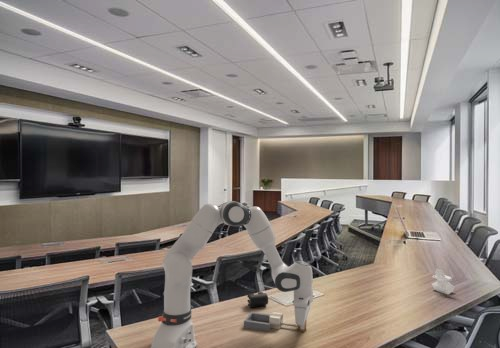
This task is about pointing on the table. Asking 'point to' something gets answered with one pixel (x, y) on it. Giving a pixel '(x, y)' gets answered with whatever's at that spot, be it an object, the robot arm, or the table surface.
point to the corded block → (281, 322)
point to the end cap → (257, 299)
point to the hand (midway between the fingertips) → (303, 326)
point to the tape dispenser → (442, 282)
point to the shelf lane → (255, 324)
